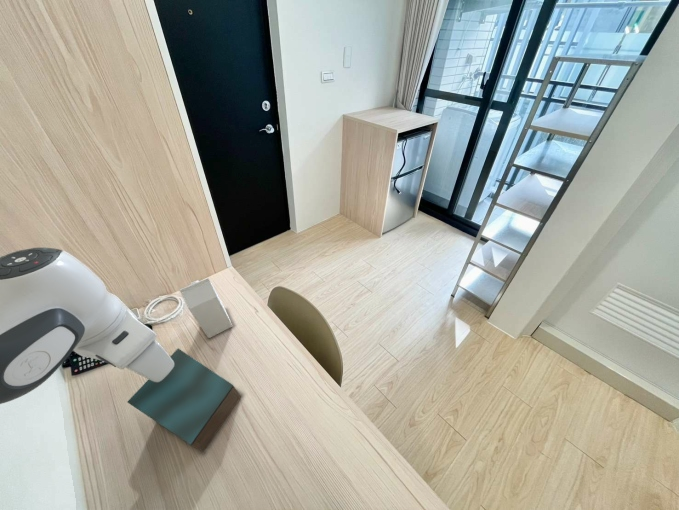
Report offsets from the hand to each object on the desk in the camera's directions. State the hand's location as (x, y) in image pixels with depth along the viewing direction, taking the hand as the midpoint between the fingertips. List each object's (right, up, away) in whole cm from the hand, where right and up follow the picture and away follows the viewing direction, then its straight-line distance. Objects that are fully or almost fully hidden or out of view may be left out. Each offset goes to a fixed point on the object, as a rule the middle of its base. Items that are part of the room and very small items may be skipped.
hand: (144, 363), depth 54 cm
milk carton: (+2, +1, +28) cm, 28 cm away
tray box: (+5, -16, +12) cm, 20 cm away
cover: (+5, -8, +5) cm, 11 cm away
